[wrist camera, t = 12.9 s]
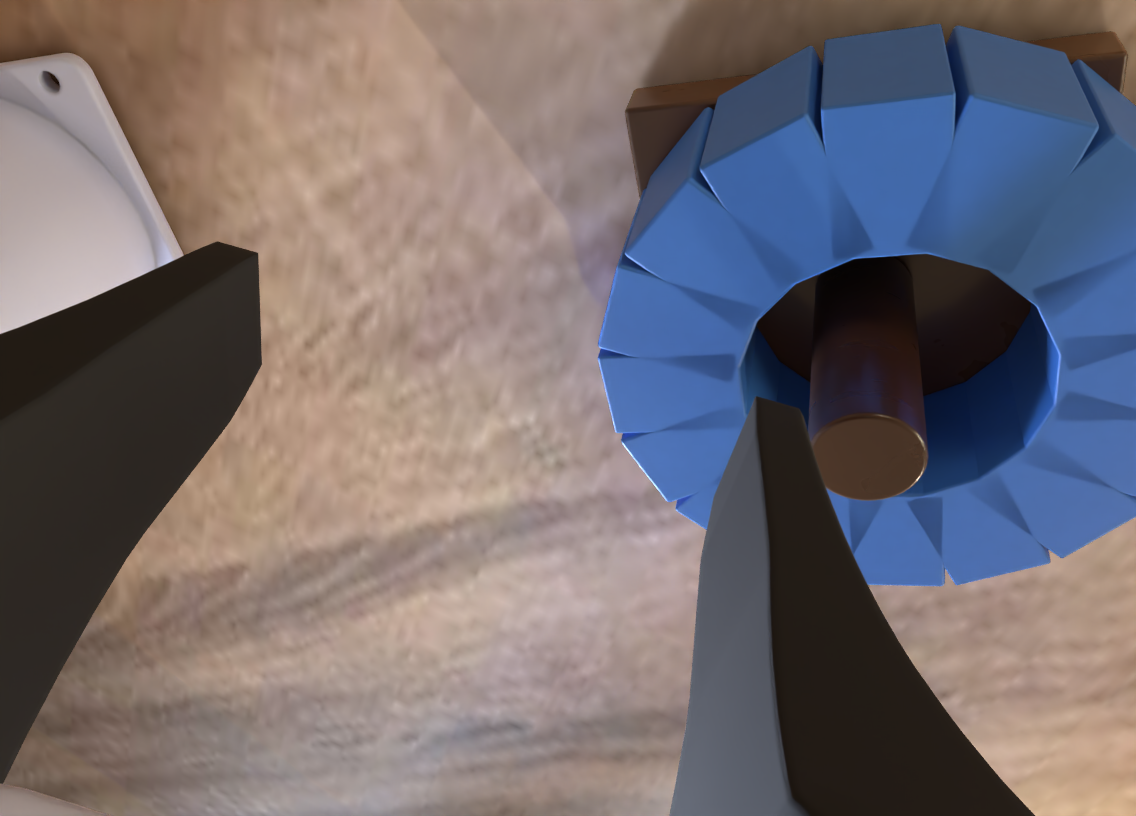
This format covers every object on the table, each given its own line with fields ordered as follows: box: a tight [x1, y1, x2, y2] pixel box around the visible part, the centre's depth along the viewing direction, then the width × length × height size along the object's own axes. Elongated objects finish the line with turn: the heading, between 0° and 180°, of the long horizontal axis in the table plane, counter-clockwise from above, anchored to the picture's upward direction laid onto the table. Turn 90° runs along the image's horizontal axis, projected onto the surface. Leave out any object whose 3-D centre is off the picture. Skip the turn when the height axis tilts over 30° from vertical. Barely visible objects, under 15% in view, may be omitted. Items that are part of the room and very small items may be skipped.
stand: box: [625, 31, 1128, 501], centre depth 19 cm, size 9×9×7 cm
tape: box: [598, 24, 1136, 586], centre depth 20 cm, size 11×11×3 cm
